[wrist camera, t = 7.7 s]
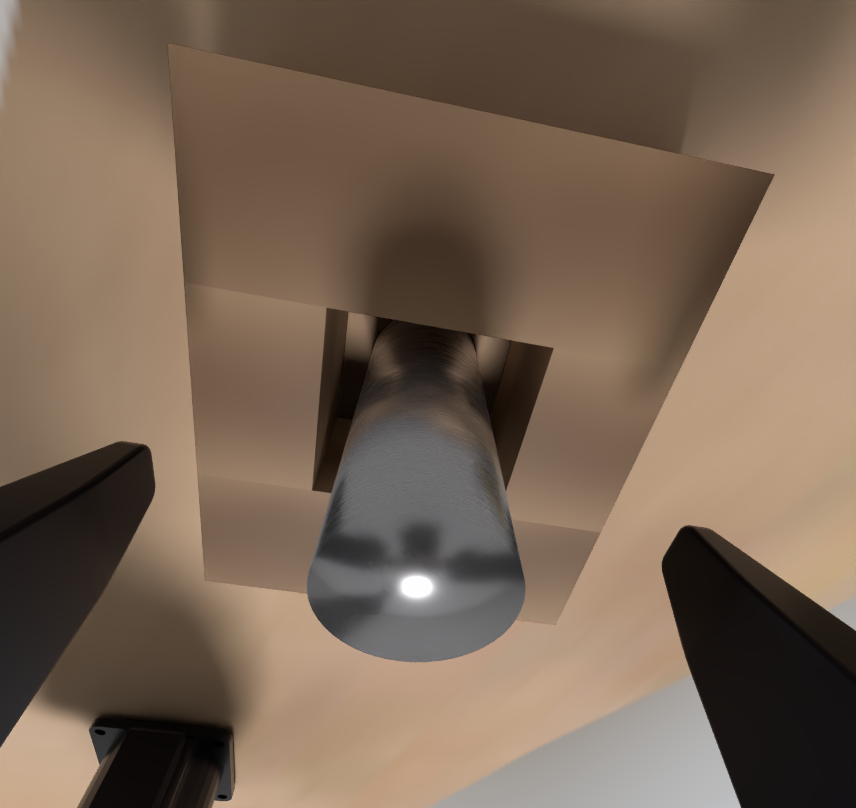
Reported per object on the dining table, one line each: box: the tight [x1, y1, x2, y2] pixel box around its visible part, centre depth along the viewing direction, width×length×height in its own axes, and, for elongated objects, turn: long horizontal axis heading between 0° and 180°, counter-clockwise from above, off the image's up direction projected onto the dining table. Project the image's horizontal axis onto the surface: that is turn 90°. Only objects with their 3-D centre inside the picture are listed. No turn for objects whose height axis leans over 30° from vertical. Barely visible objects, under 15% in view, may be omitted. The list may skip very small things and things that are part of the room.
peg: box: [307, 320, 526, 662], centre depth 10 cm, size 3×3×8 cm
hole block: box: [168, 43, 774, 625], centre depth 12 cm, size 12×10×4 cm
